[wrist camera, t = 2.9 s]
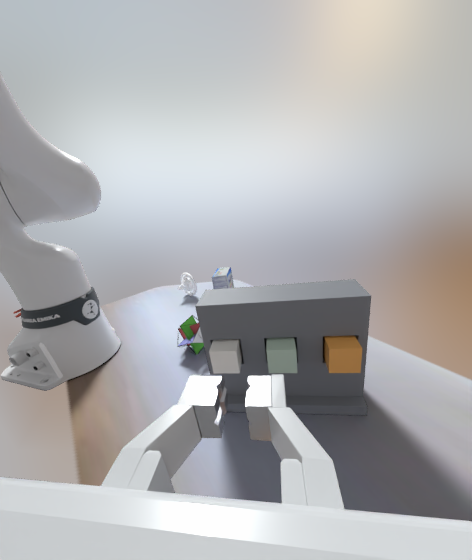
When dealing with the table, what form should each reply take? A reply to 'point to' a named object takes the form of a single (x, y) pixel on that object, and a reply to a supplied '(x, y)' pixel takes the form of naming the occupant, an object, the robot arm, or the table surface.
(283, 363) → the button sage
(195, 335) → the geometric puzzle
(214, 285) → the medicine box
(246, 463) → the table surface
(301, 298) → the button panel
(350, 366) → the button orange
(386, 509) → the table surface
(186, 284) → the white irregular piece
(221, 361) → the button offwhite
